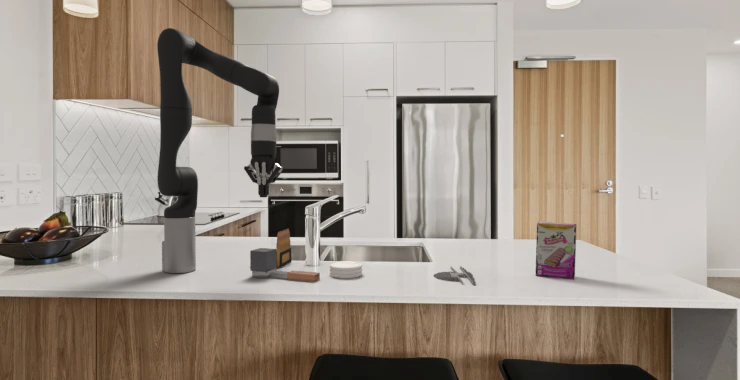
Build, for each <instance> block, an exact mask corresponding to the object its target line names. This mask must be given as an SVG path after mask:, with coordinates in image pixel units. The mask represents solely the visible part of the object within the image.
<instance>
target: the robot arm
mask: <svg viewBox="0 0 740 380" xmlns="http://www.w3.org/2000/svg"><path fill="white" fill-rule="evenodd" d="M156 46H157V56H158V57H157V58H158V66H159V80H160V81H159V84H160V86H159V87H160V103H159V104H160V107H159V116H160V117H159V121H160V122H159V123H160V126H159V127H160V128H159V129H160V133H159V134H160V139H159V142H160V143H159V144H160V145H159V157H158V165H157V189H158V191H159V193H160V194H161V195H162V196H164V197H177V200H176V201H175V202H174V203H173V204H171V205H170V206H167V207H165V208H164V211H163V228H164V229H163V230H164V231H163V233H164V234H163V235H164V236H163V237H164V238H163V239H164V240H162V241H161V271H162V272H164V273H167V274H184V273H185V274H186V273H191V272H194V271H196V268H197V263H196V262H197V257H196V256H197V255H196V253H197V252H196V250H197V249H196V244H197V243H196V211H197V208H198V195H199V194H198V190H199V179H198V175H197V172H196V171H195V169H193V168H192V167H189V166H177V158H178V153H179V150H180V148H181V145H182V144H183V142H184V141H185V139H186V137H187V136H188V134H189V133H190V130H191V128H192V125H193V105H192V100H191V97H190V95H189V92H188V90H187V87H186V83H185V81H184V77H183V69H182V68H183V64H186V65H191V66H193V67H198V68H200V69H203V70H206V71H208V72H210V73H211V74H212V75H214V76H215V77H218V78H219V79H222V80H224V81H225V82H228V83H230V84H232V85H234V86H237V87H239V88H242V89H243V90H245V91H247V92H248V93H251V94H253V95H255V96H257V101H256V104H255V105H254V106H253V107H252V109H251V127H250V128H251V129H250V155H251V159H250V162H249V164H248V165H245V166H244V167H243V169H244V171H245V172H246V174H247V176H248V177H249V179H250V180H251V182H253V184H254V183H255V184H257V187H258V188H257V190H258V191H257V193H258V196H259V198H268V196H269V195H270V185H271V184H274V183H275V182H276V181H277V179H278V178H279V176H280V175H281V174H282V172H283V171H284V166H281V165H280V164H279V163H278V161H277V158H276V157H277V128H276V127H277V126H276V111H277V106H278V101H279V95H280V86H279V82H278V80H277V78H275V76H272V75H271V74H268V73H266V72H264V71H262V70H259V69H256V68H253V67H251V66H249V65H247V64H246V63H244V62H241V61H240V60H238V59H234V58H232V57H229V56H227V55H224V54H221V53H218V52H215V51H213V50H211V49H209V48H208V47H206V46H205V45H203V44H201V43H200V42H199V41H197V40H196V39H194V38H193V37H192V36H191V35H189V34H187V33H185V32H183V31H180V30H177V29H175V28H171V27H168V28H167V27H166V28H165V29H163V30H162V31H161V32H160V33H159V35H158V40H157V44H156Z"/></svg>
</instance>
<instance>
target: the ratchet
mask: <svg viewBox="0 0 740 380" xmlns="http://www.w3.org/2000/svg"><path fill="white" fill-rule="evenodd" d="M276 269H277V268H276ZM276 269H273V270H270V271H268V272H262V271H251V277H252V278H254V279H258V280H259V279H260V280H261V279H281V280H282V279H283V280H289V281H290V280H291V281H298V282H299V281H300V282H301V281H302V282H312V283H315V282H317V281H319V280H320V278H321V276H320V272H318V271H317V272H313V271H301V270H290V271H286V270H285V271H283V270H276Z"/></svg>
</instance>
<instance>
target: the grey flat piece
mask: <svg viewBox="0 0 740 380" xmlns="http://www.w3.org/2000/svg"><path fill="white" fill-rule="evenodd" d="M449 268H450V270H451V271H441V272H440V271H439V272H437V273H434V274H433V277H434V278H435V279H437V280H440V281H445V282H455V283H458V282H459V283H460V284H461V285H464V281H463V280H462V279H461V278H463V279H467V280H468V281H469V283H470V284H471V285H472V286H476V280H475V278H474V276H473V273H472V272H470V271H467V269H465V268H464V267H463V266H462V265H461V266H459V270H460V271H461V272H458V271H457V270H455V268H454V267H452V266H450V267H449Z"/></svg>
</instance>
